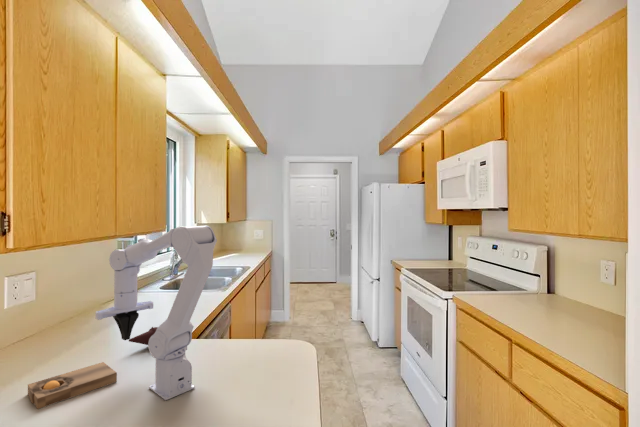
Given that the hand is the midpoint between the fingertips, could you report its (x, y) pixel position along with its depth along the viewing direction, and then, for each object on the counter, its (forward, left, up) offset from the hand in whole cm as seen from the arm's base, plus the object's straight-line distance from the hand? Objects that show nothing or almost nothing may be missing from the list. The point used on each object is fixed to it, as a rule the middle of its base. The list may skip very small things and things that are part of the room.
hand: (125, 338), depth 97 cm
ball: (+3, +16, -9) cm, 19 cm away
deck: (+3, +12, -10) cm, 16 cm away
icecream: (+14, -14, -11) cm, 23 cm away
